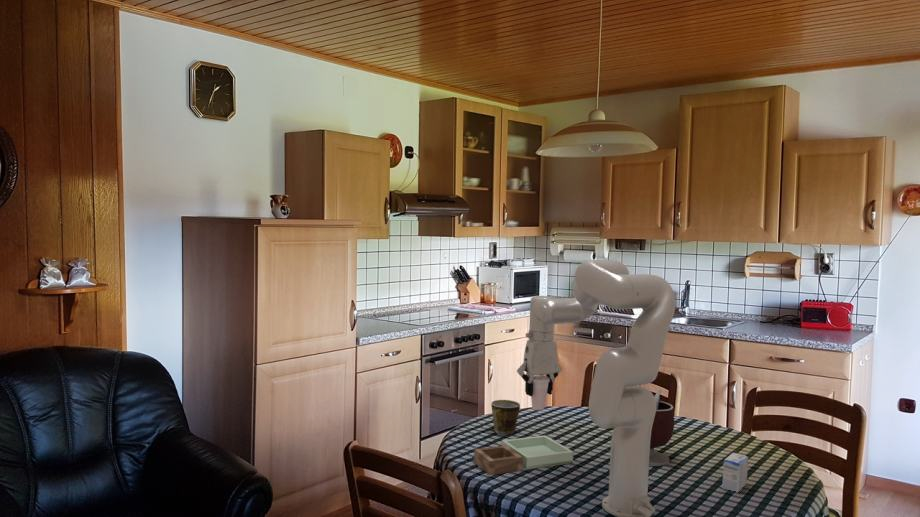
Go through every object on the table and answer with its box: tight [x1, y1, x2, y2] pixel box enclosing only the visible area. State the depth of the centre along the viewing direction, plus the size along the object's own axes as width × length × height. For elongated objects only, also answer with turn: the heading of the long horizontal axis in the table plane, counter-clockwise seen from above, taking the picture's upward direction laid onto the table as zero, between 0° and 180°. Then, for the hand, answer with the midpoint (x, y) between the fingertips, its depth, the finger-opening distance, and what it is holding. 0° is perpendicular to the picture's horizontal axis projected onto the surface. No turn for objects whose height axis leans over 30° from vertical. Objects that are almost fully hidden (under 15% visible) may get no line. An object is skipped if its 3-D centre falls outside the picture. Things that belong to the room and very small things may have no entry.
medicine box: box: [721, 452, 749, 493], centre depth 181 cm, size 8×4×9 cm, turn 141°
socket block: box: [473, 445, 523, 476], centre depth 191 cm, size 11×11×4 cm
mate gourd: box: [649, 389, 675, 467], centre depth 202 cm, size 16×14×20 cm
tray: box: [501, 435, 574, 470], centre depth 200 cm, size 16×16×4 cm
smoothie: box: [530, 374, 550, 411], centre depth 199 cm, size 6×6×14 cm
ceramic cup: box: [490, 399, 521, 436], centre depth 222 cm, size 13×10×10 cm
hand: (538, 393), depth 199 cm, fingers closed on smoothie, 6 cm apart
